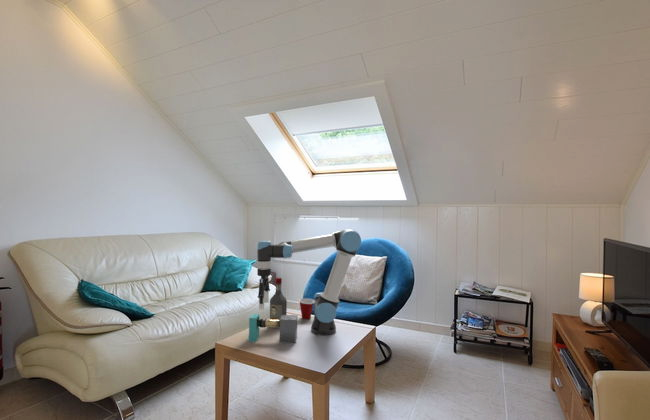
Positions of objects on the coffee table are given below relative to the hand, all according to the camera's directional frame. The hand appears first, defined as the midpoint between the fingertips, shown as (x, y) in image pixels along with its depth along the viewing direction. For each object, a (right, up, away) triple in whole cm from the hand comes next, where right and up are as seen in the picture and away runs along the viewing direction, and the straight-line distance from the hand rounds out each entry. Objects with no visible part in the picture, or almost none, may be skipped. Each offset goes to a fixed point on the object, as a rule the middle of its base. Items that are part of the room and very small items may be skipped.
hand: (264, 305), depth 194 cm
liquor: (+5, -19, +23) cm, 30 cm away
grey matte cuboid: (+14, -19, 0) cm, 24 cm away
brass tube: (+3, -12, 0) cm, 12 cm away
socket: (-6, -19, 0) cm, 20 cm away
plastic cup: (+22, -19, +40) cm, 49 cm away
